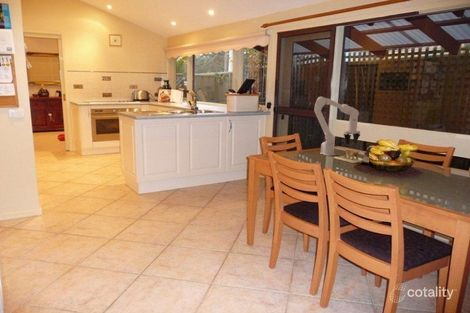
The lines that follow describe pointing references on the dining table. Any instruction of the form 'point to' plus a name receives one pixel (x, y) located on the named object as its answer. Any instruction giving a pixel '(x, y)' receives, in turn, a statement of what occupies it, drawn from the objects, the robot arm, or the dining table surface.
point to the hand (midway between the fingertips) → (351, 143)
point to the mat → (349, 159)
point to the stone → (366, 155)
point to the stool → (351, 154)
